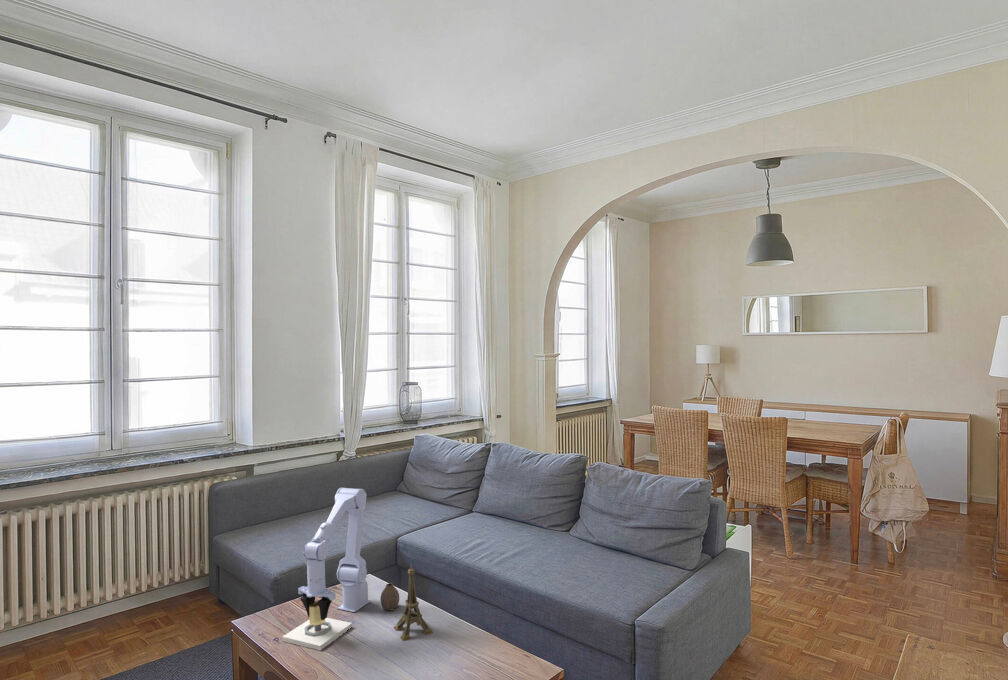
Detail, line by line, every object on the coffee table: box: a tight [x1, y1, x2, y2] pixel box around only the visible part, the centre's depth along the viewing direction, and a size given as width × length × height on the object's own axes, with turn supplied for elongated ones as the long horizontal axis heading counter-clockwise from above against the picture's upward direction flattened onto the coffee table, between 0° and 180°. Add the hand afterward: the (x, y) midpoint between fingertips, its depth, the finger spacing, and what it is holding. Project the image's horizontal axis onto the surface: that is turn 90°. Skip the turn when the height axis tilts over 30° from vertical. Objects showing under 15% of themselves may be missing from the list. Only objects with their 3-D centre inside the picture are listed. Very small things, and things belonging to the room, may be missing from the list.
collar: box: [308, 600, 325, 625], centre depth 201 cm, size 5×5×6 cm
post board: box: [281, 617, 353, 651], centre depth 201 cm, size 16×16×6 cm
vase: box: [380, 582, 400, 611], centre depth 219 cm, size 7×7×9 cm
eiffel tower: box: [393, 564, 434, 642], centre depth 202 cm, size 11×11×25 cm
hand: (317, 617), depth 201 cm, fingers closed on collar, 5 cm apart
